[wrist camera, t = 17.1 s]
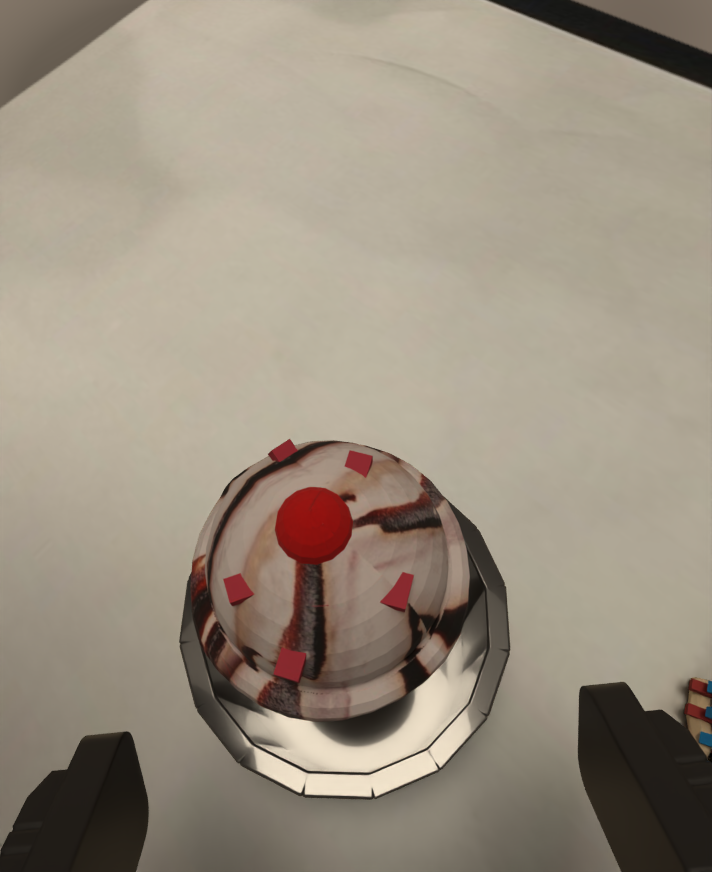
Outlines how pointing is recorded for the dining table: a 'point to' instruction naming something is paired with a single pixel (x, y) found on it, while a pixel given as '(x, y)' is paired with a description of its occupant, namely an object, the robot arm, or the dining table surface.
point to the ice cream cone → (329, 580)
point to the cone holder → (377, 731)
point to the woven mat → (700, 713)
